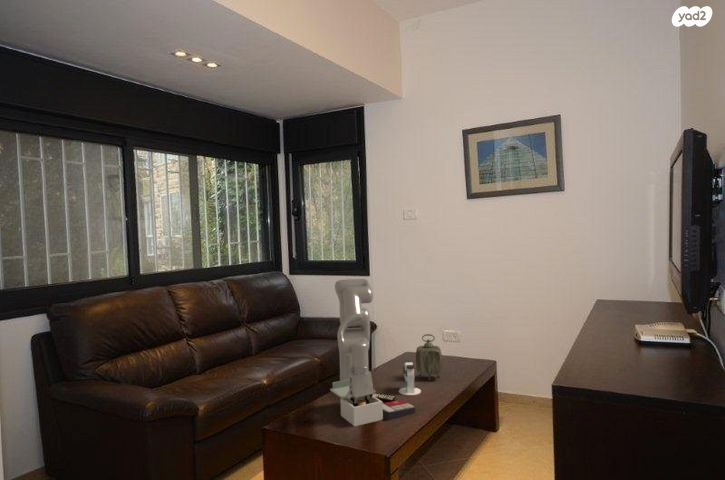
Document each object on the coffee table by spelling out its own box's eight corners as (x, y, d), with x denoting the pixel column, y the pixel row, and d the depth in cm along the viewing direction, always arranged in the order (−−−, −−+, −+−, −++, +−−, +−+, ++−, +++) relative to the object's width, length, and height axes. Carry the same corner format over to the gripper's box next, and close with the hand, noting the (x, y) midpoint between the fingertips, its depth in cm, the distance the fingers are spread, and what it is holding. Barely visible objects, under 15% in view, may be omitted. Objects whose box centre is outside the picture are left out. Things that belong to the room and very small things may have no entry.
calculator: (415, 405, 218) (388, 411, 210) (415, 415, 218) (388, 421, 210) (402, 398, 227) (375, 403, 220) (401, 407, 227) (374, 413, 220)
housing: (340, 415, 217) (340, 398, 217) (368, 409, 224) (367, 392, 224) (354, 426, 205) (353, 407, 205) (382, 419, 211) (382, 401, 211)
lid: (330, 390, 227) (330, 382, 227) (357, 385, 234) (357, 377, 234) (342, 399, 214) (342, 391, 214) (371, 393, 221) (371, 386, 221)
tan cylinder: (359, 416, 212) (359, 403, 212) (355, 414, 215) (355, 400, 215) (367, 415, 213) (367, 401, 213) (363, 412, 217) (363, 399, 217)
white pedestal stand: (397, 388, 253) (396, 359, 252) (418, 387, 254) (417, 358, 253) (400, 395, 241) (399, 366, 240) (422, 394, 242) (422, 365, 241)
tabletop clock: (442, 376, 270) (440, 332, 269) (443, 381, 261) (442, 336, 260) (416, 376, 271) (415, 332, 271) (416, 381, 262) (415, 336, 262)
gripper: (346, 374, 207) (347, 416, 207) (380, 368, 214) (382, 409, 215) (339, 370, 213) (340, 411, 214) (372, 364, 221) (374, 403, 221)
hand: (361, 409), depth 214 cm, fingers open, 4 cm apart
